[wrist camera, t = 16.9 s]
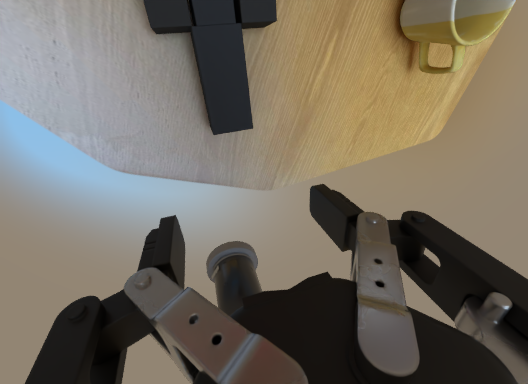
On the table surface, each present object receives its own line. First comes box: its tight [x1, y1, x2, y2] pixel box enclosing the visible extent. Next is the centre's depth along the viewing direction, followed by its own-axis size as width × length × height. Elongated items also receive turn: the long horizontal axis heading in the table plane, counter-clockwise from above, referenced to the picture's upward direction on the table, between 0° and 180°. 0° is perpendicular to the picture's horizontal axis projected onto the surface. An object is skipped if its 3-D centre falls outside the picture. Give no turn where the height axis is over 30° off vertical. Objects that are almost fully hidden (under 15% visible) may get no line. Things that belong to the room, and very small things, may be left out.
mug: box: [400, 0, 516, 74], centre depth 32 cm, size 14×10×10 cm
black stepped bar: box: [189, 0, 253, 135], centre depth 29 cm, size 16×6×5 cm, turn 6°
